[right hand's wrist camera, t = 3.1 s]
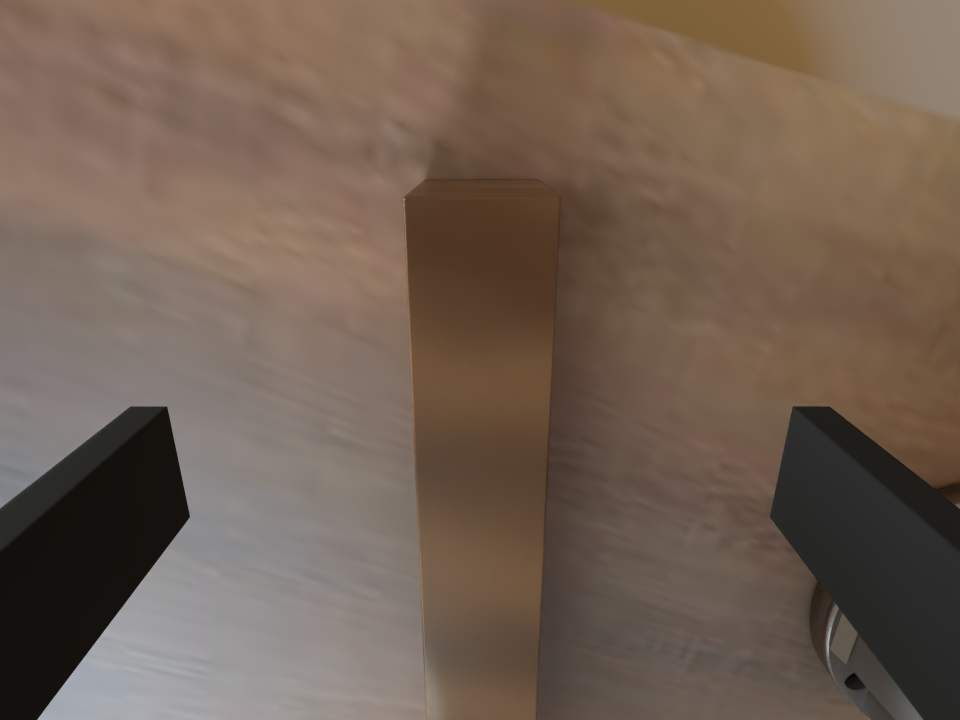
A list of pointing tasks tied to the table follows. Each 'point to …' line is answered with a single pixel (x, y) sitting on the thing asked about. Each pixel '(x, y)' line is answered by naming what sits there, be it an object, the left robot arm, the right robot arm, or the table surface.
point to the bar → (481, 434)
